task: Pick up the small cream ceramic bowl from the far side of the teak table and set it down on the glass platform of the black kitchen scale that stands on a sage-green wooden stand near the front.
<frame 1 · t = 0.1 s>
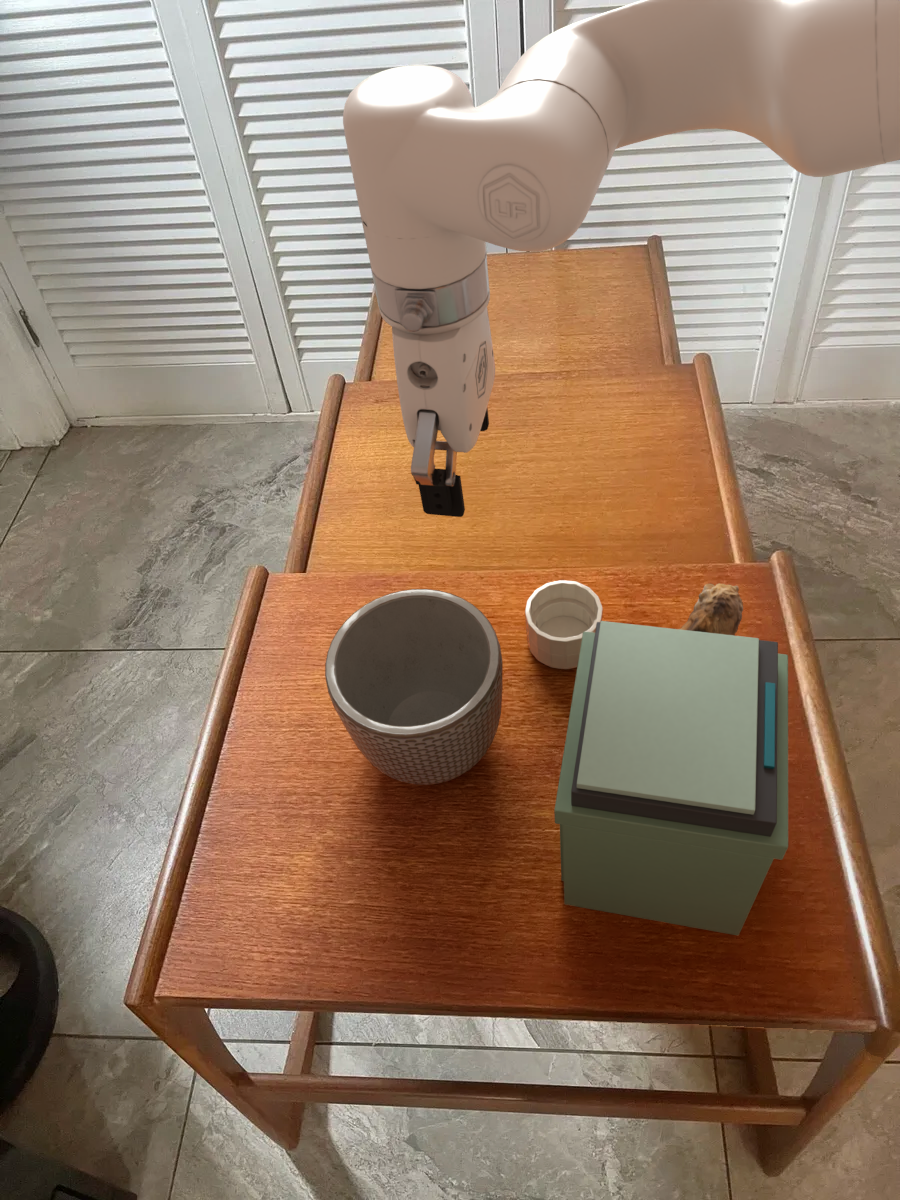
hand: (457, 468, 73), 19 cm above the table, tool pointing down, fingers open, 9 cm apart
lion figurine: (665, 675, 82), on the table
planter: (432, 739, 80), on the table
scale: (676, 729, 59), resting on stand
bowl: (564, 641, 85), on the table
stand: (657, 833, 73), on the table
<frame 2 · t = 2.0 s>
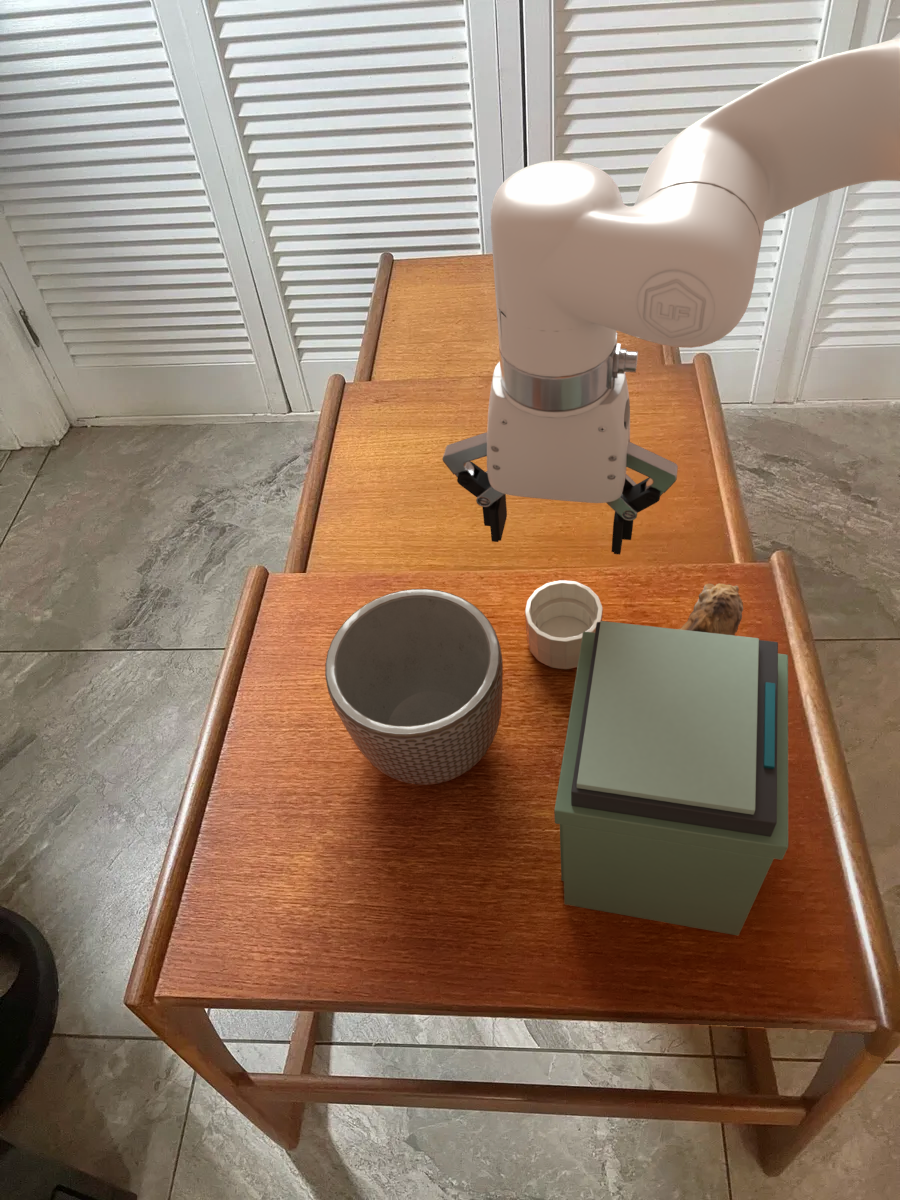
hand: (557, 534, 73), 15 cm above the table, tool pointing down, fingers open, 9 cm apart
nothing on the table moved.
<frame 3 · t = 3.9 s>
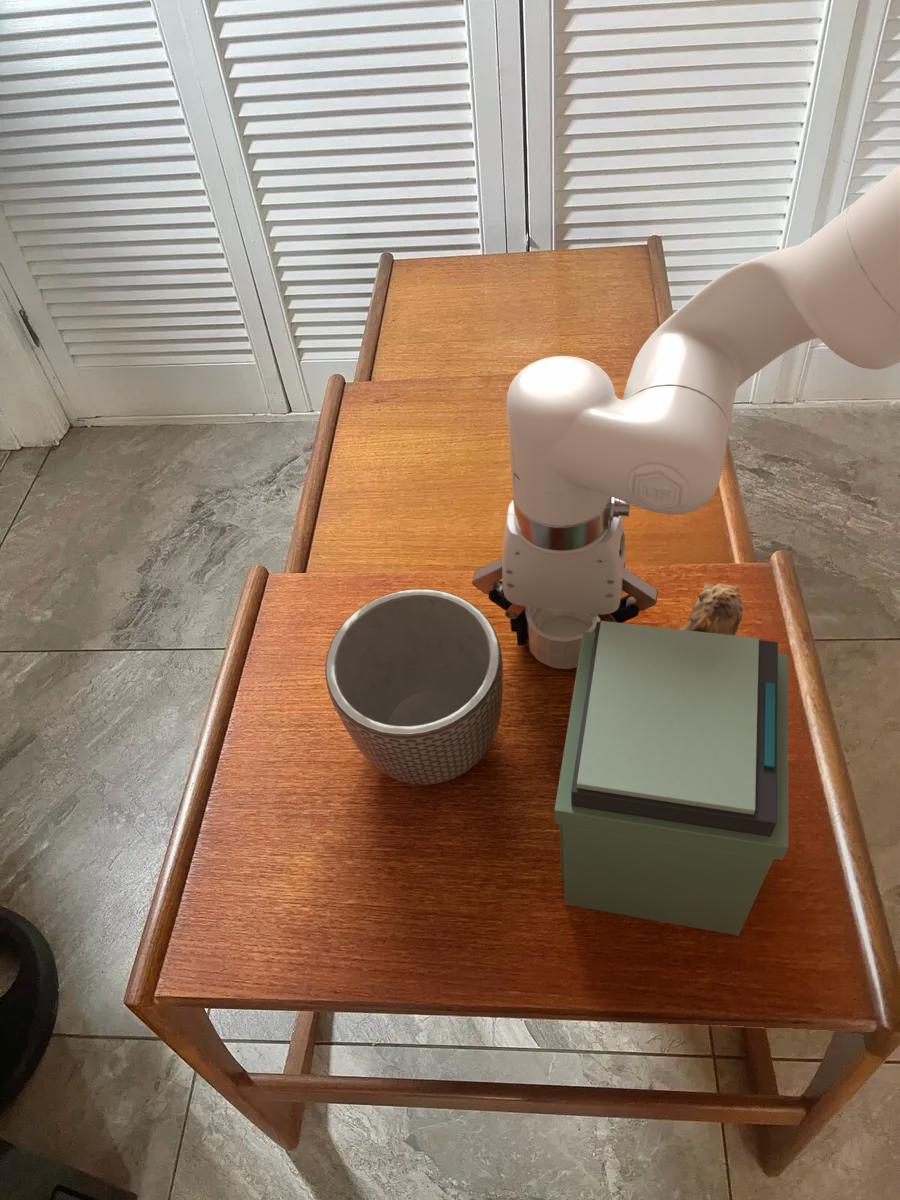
hand: (564, 637, 84), 1 cm above the table, tool pointing down, fingers closed on bowl, 6 cm apart
bowl: (564, 641, 85), on the table, touching gripper
everything else where it was.
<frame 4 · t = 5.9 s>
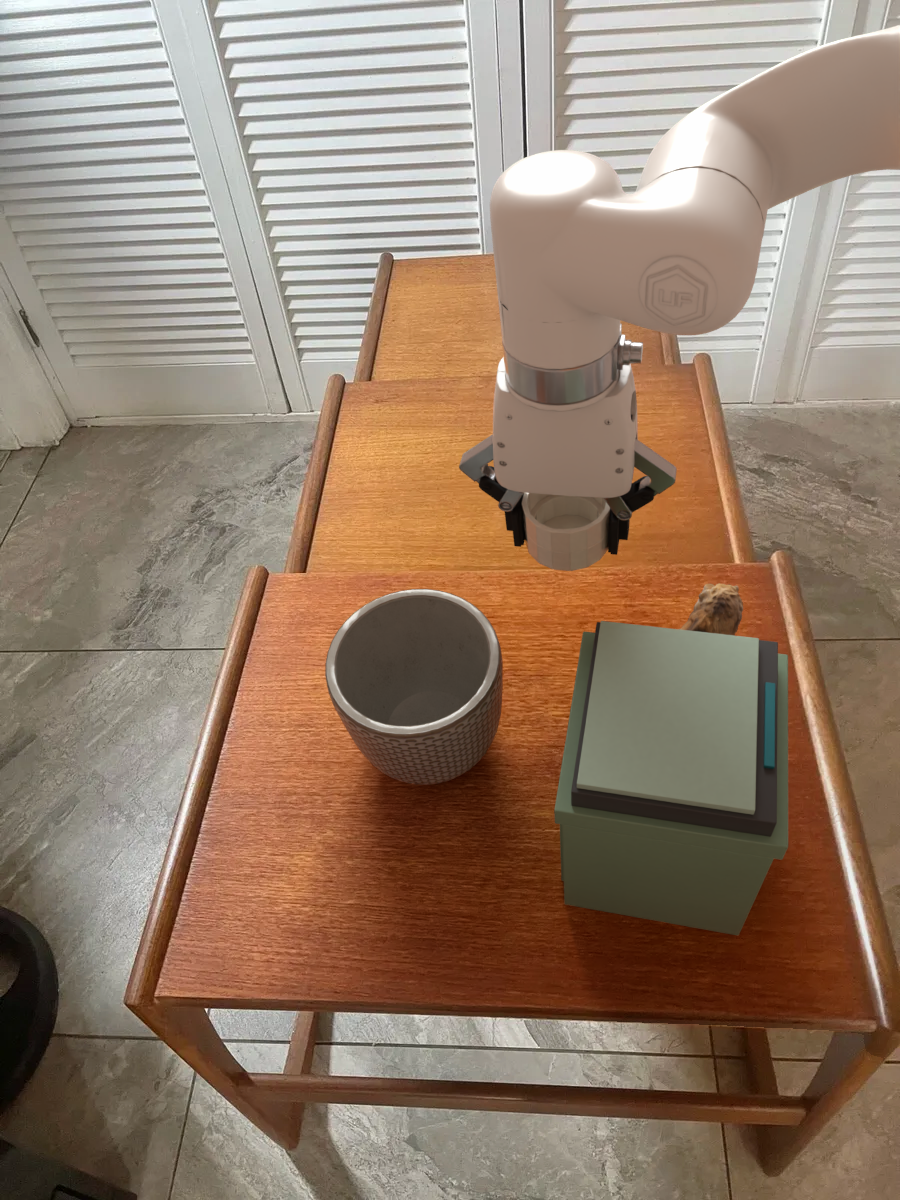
hand: (567, 536, 73), 15 cm above the table, tool pointing down, fingers closed on bowl, 6 cm apart
bowl: (568, 542, 74), point 14 cm above the table, touching gripper
everything else where it was.
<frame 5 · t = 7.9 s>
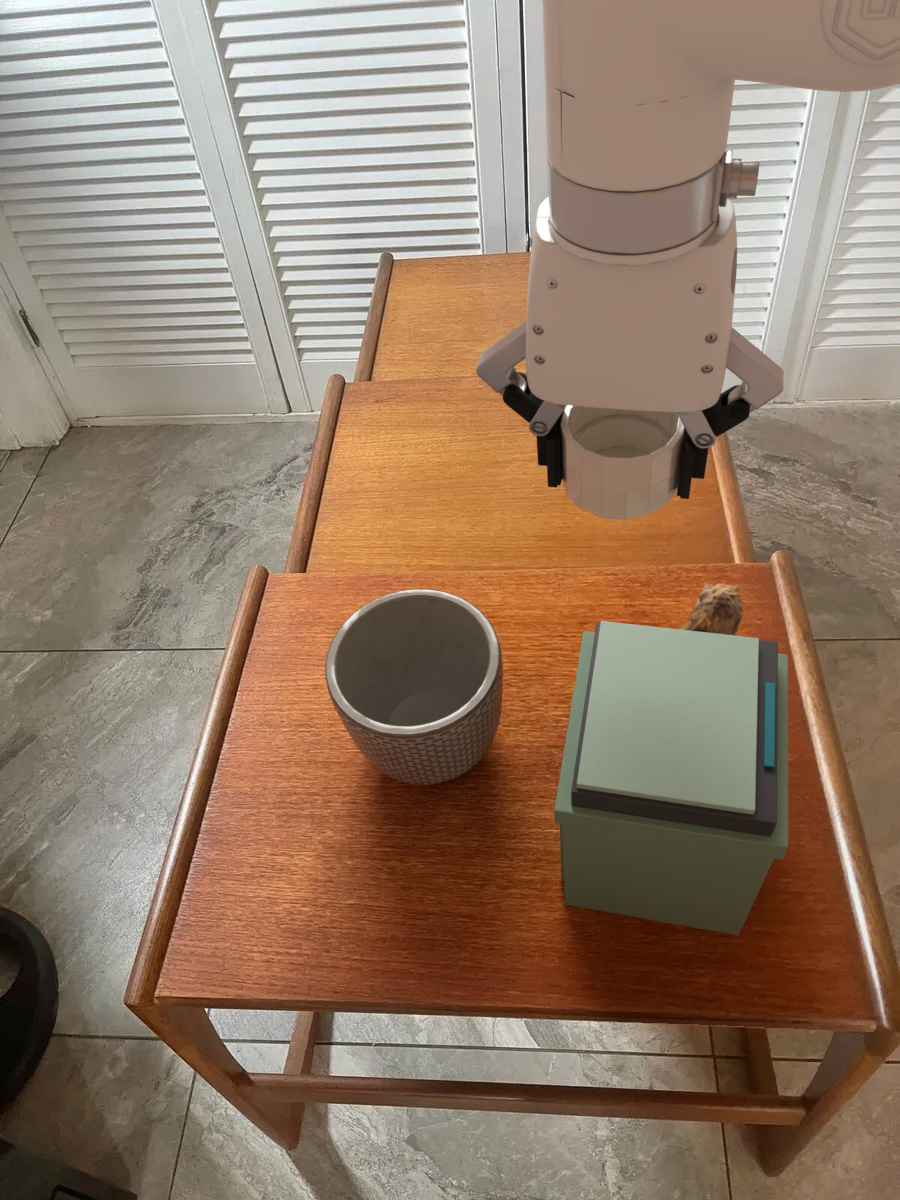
hand: (620, 474, 54), 31 cm above the table, tool pointing down, fingers closed on bowl, 6 cm apart
bowl: (619, 483, 55), point 31 cm above the table, touching gripper
everything else where it was.
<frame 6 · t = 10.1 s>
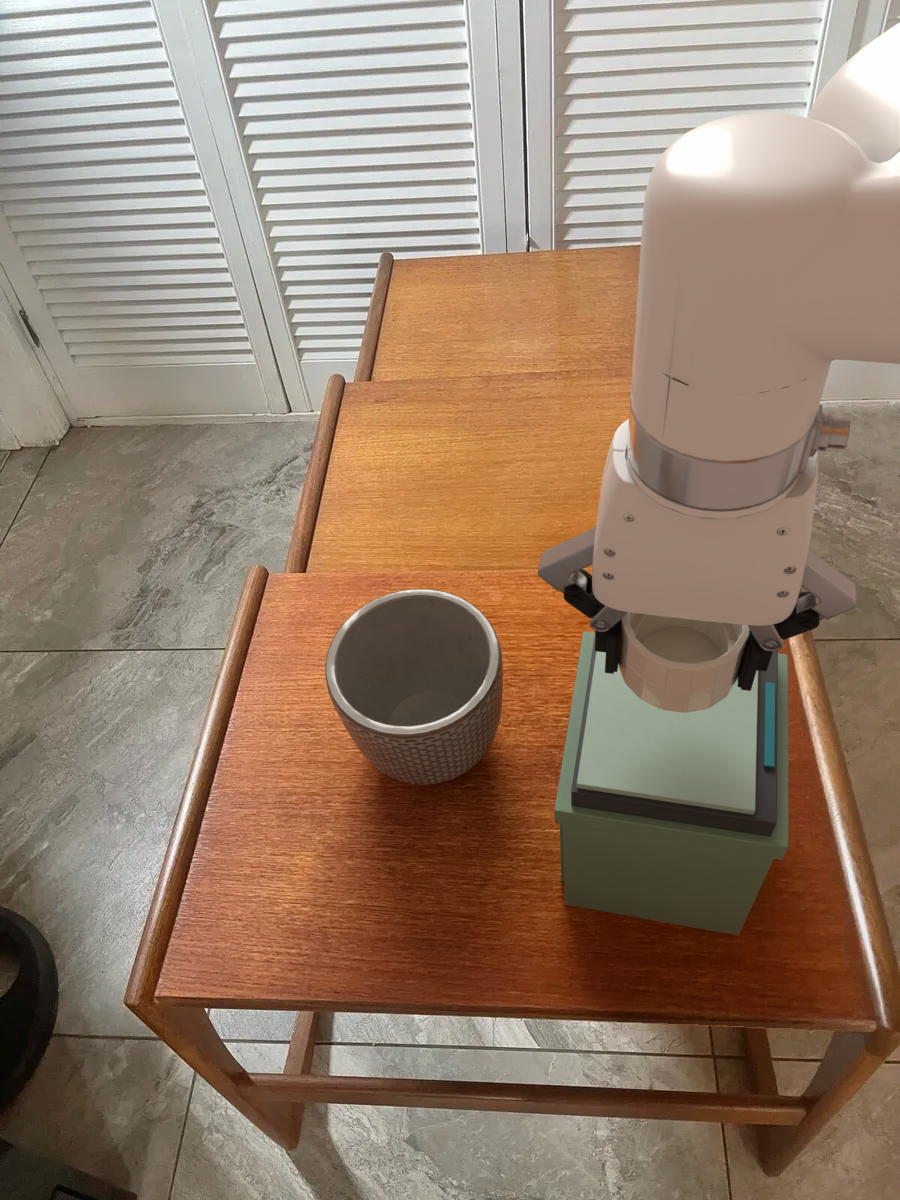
hand: (678, 660, 53), 25 cm above the table, tool pointing down, fingers closed on bowl, 6 cm apart
bowl: (676, 667, 54), point 24 cm above the table, touching gripper
everything else where it was.
when the fingers open (20 cm above the table, at t = 11.8 s): bowl stays where it is, resting on scale.
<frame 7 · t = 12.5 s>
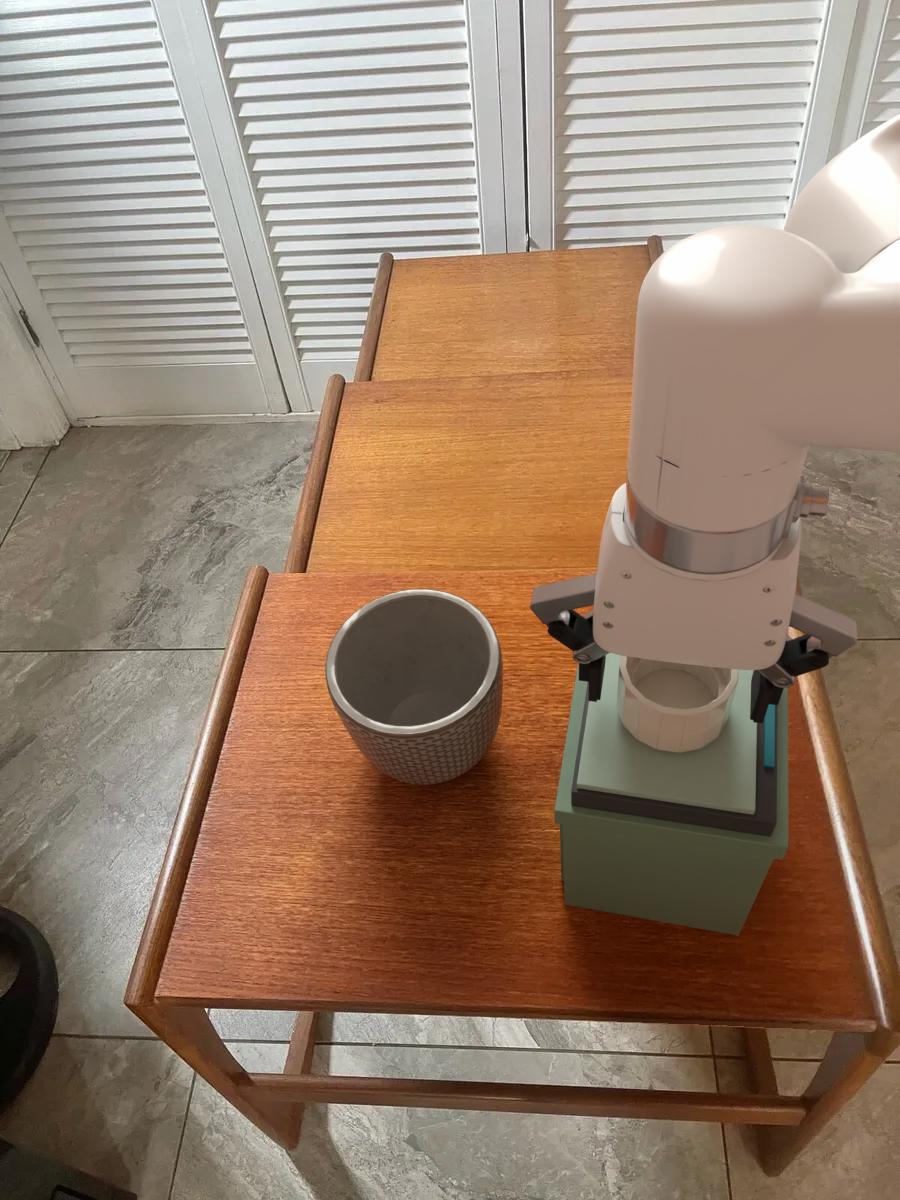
hand: (675, 692, 56), 21 cm above the table, tool pointing down, fingers open, 9 cm apart
bowl: (671, 708, 57), point 20 cm above the table, touching scale
everything else where it was.
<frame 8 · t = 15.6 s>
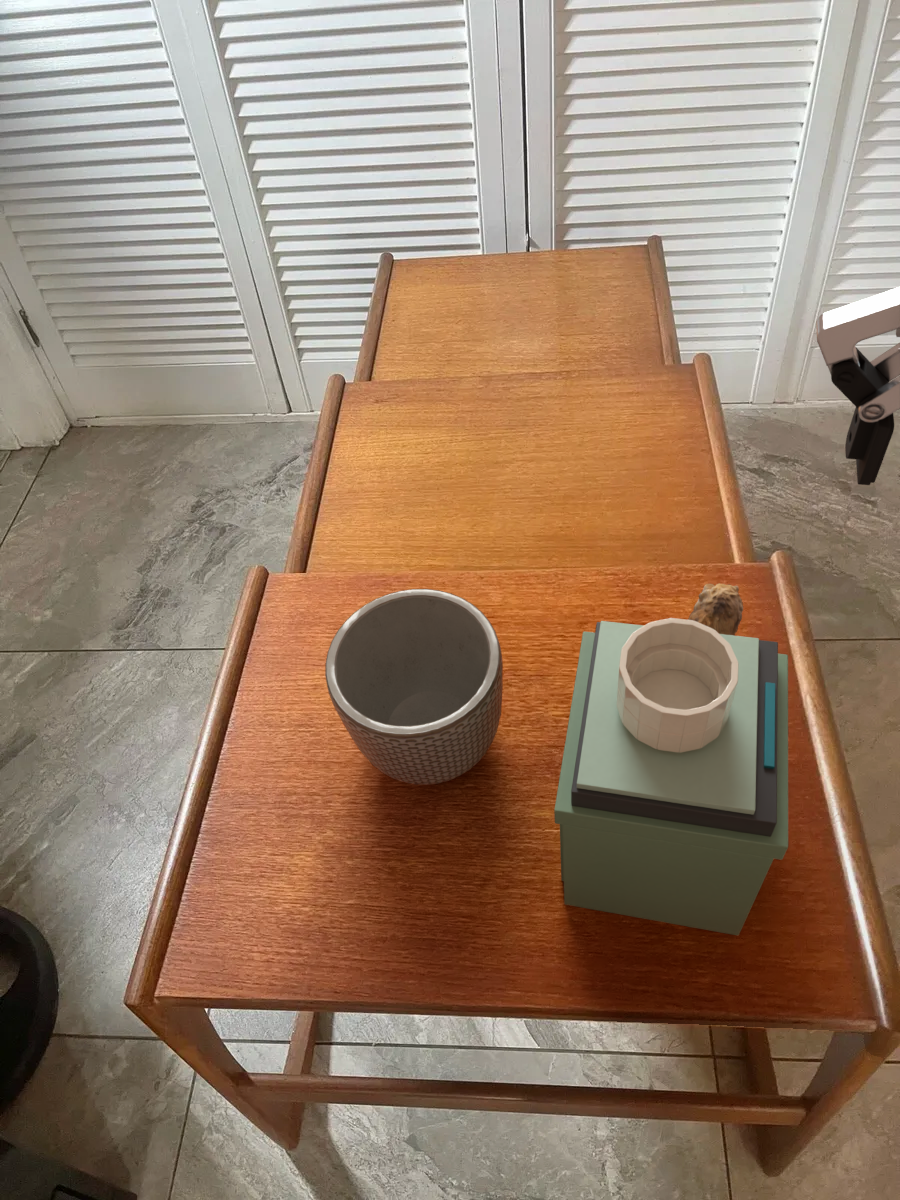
nothing on the table moved.
at the end: bowl inside the target area on the scale (0.0 cm from its centre), point 2.6 cm above the scale's base; bowl tilted 0°; the gripper is holding nothing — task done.
